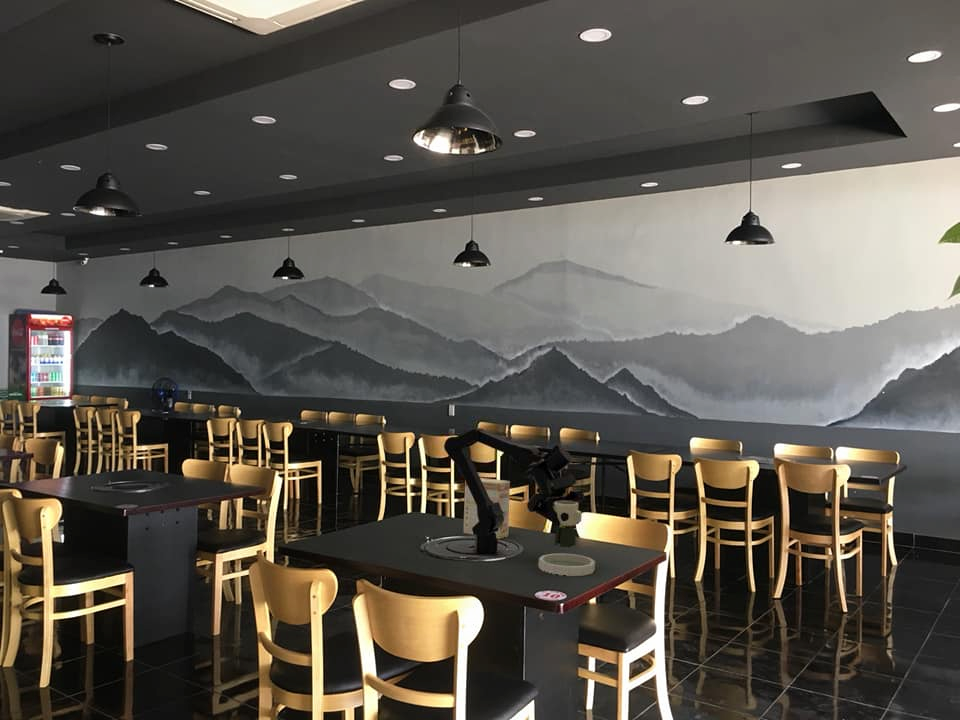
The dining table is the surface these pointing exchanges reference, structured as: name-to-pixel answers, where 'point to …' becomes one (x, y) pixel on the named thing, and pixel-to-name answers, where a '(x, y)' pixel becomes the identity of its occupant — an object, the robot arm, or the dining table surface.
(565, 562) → the grey ring base
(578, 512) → the character mug
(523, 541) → the dining table surface
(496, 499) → the coffeecake box
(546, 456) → the robot arm
